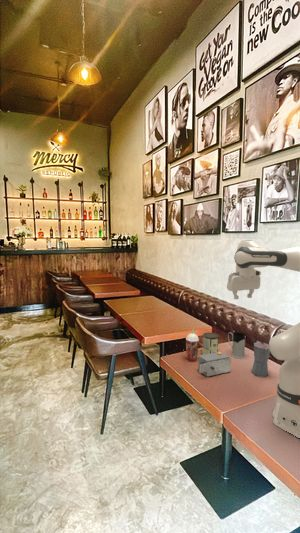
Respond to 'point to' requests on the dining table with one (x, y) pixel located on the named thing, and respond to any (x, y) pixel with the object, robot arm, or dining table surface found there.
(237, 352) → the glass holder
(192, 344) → the smoothie
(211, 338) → the coffee can
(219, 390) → the dining table surface
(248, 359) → the dining table surface
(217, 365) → the side door
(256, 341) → the moka pot
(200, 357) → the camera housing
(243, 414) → the dining table surface
